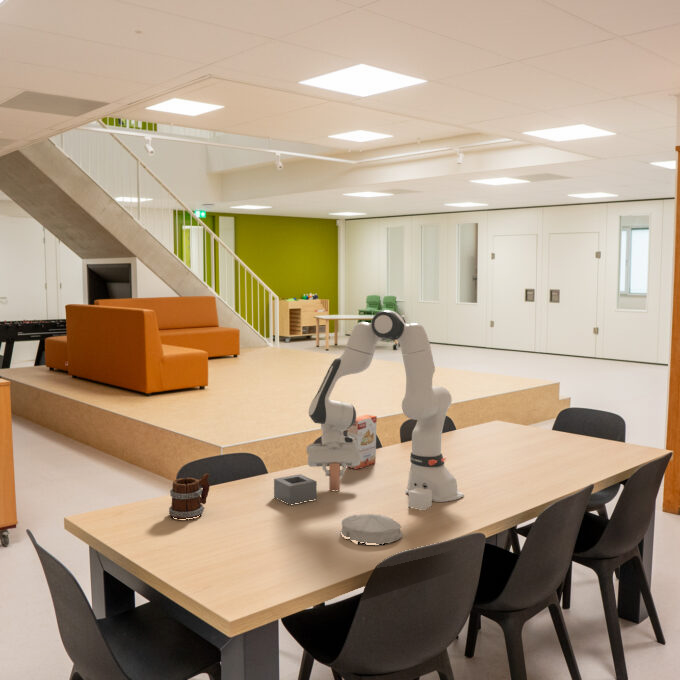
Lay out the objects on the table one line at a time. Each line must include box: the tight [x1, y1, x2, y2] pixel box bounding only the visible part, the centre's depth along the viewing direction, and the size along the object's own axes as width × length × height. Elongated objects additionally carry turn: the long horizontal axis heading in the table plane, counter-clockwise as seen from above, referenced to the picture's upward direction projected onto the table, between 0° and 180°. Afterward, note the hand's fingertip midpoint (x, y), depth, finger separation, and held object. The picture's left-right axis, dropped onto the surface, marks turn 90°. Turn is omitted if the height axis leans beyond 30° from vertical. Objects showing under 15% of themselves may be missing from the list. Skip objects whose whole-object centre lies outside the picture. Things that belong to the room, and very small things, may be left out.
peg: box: [328, 463, 341, 491], centre depth 269 cm, size 4×4×10 cm
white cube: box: [408, 487, 433, 511], centre depth 250 cm, size 6×6×6 cm
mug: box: [168, 472, 211, 519], centre depth 241 cm, size 12×14×15 cm
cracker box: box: [346, 414, 378, 470], centre depth 303 cm, size 14×6×21 cm, turn 143°
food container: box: [340, 513, 403, 545], centre depth 224 cm, size 20×20×7 cm
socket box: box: [273, 473, 318, 506], centre depth 258 cm, size 11×11×7 cm
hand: (334, 475), depth 268 cm, fingers closed on peg, 4 cm apart
